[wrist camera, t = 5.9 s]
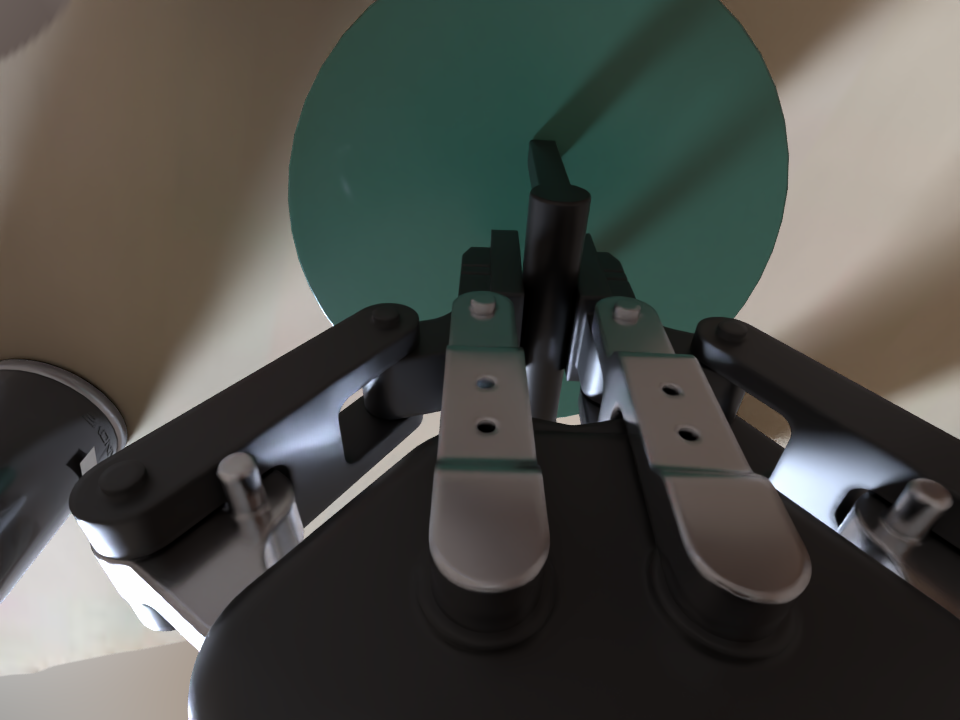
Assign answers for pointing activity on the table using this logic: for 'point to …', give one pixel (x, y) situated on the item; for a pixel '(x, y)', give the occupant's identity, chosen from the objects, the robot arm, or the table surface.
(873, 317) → the table surface
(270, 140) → the table surface
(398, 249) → the pot lid
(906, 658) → the robot arm
